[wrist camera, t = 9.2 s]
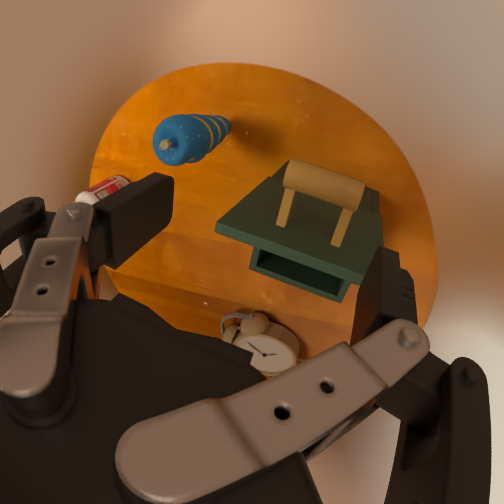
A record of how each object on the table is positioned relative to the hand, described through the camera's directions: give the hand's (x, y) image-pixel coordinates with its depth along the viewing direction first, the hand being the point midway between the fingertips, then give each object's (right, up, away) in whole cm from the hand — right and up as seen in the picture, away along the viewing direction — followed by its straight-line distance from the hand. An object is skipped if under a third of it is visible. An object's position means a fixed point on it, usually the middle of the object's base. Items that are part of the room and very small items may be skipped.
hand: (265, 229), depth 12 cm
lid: (+4, +1, +14) cm, 14 cm away
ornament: (-3, +15, +26) cm, 31 cm away
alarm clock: (+1, -15, +43) cm, 45 cm away
